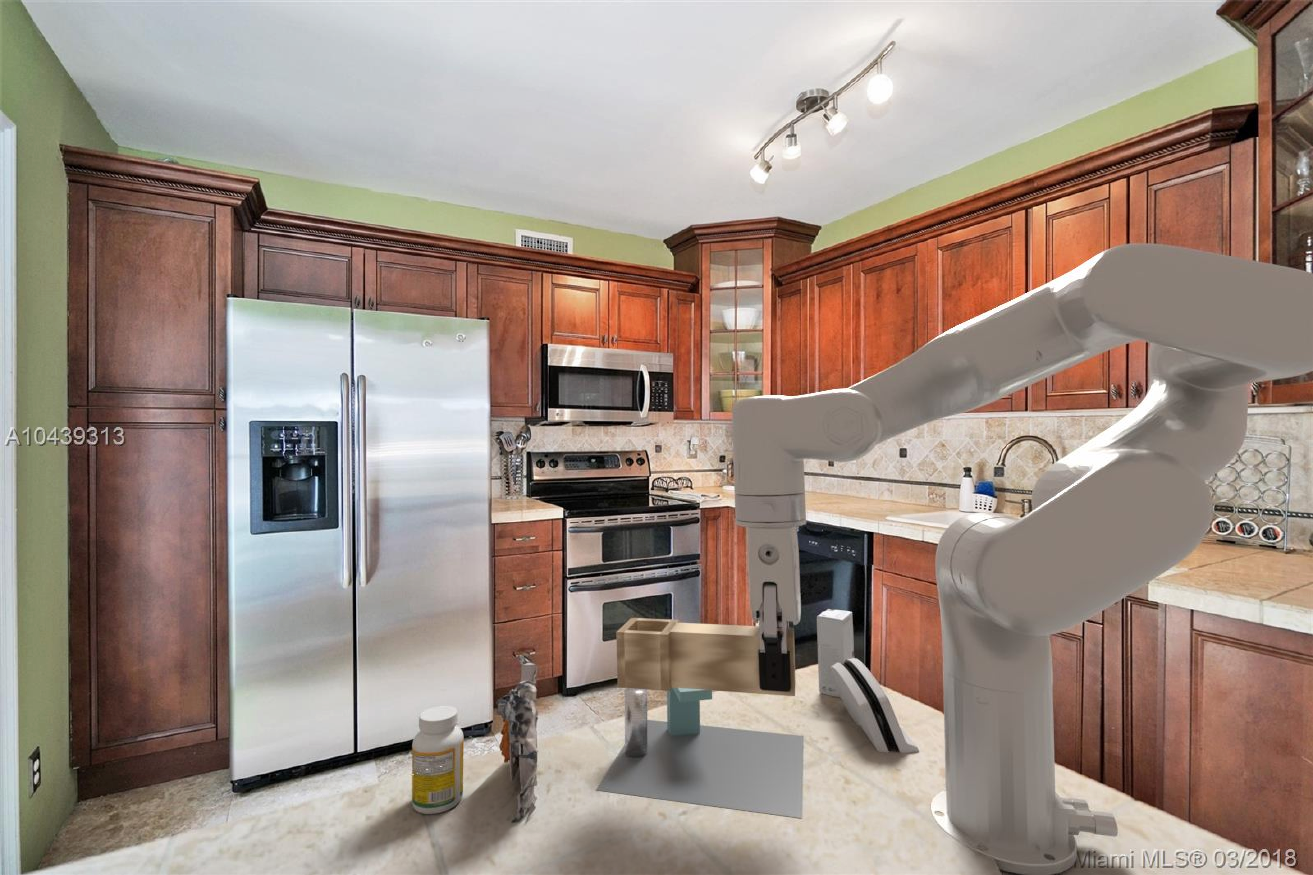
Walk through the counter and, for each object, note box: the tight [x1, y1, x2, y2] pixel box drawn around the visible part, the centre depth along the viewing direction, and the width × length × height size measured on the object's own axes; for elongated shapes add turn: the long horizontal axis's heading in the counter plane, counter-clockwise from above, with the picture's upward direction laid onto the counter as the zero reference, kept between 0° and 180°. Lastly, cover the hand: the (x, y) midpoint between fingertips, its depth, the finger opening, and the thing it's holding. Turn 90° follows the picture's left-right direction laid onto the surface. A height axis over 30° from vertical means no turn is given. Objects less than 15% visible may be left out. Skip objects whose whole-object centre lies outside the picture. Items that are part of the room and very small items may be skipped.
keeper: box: [666, 687, 713, 736], centre depth 76 cm, size 4×8×8 cm, turn 11°
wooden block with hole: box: [615, 617, 797, 697], centre depth 66 cm, size 19×6×6 cm, turn 76°
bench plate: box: [595, 719, 805, 819], centre depth 71 cm, size 22×18×1 cm
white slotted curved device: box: [831, 657, 920, 754], centre depth 81 cm, size 17×5×10 cm, turn 178°
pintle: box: [624, 688, 648, 758], centre depth 74 cm, size 3×3×8 cm
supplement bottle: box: [411, 705, 465, 815], centre depth 66 cm, size 5×5×10 cm
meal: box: [494, 654, 539, 823], centre depth 67 cm, size 15×4×13 cm, turn 11°
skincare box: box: [816, 608, 855, 699], centre depth 96 cm, size 6×4×12 cm
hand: (776, 680), depth 64 cm, fingers closed on wooden block with hole, 3 cm apart
